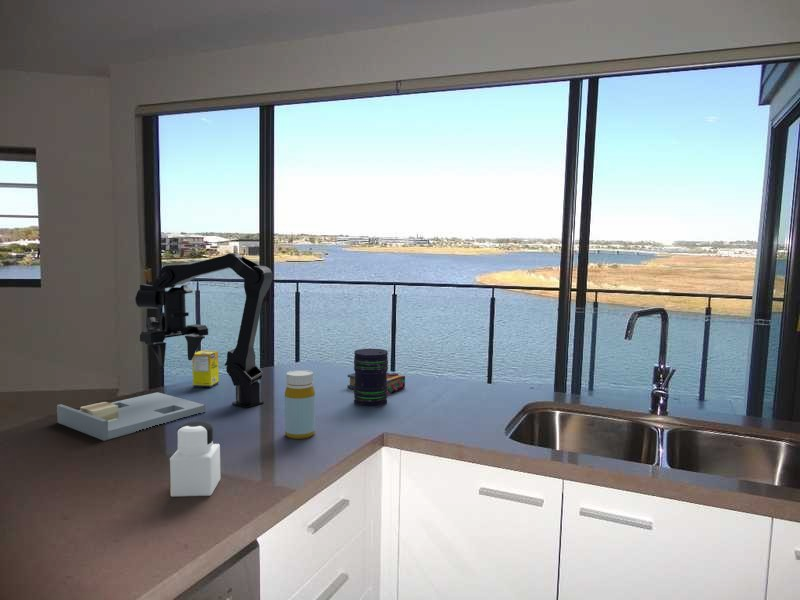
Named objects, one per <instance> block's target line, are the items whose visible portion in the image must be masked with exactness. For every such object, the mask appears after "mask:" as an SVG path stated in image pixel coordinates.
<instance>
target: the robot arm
mask: <svg viewBox="0 0 800 600" xmlns="http://www.w3.org/2000/svg"><path fill="white" fill-rule="evenodd" d="M228 269H231V270H232V271H233V272H234V273H235V274H236V275H237V276H239V277H240V278H242V279H243V288H244V289H243V290H244V294H245V301H244V306H243V311H242V316H241V322H240V326H239V332H238V336H237V337H238V338H237V342H236V346H235V348H233V349H230V350H228V351H227V353H226V362H225V364H224V366H225V367H226V368H225V369H226V373H227V374H228V376H229V377H230V380H231V381H232V384H233V386H235V401H232V402H231V404H232V405H233V406H237V407H242V408H251V407H255V406H257V405H261V404H264V403H265V401H264V400H261V394H260V393H261V390H260V387H261V386H260V382H259V381H261V380H262V378H263V375H264V372H263V371H262V370H261V369H260V368H259V367H258V366H257V365H256V353H255V352H256V351H255V348H254V347H255V346H254V345H255V341H256V334H257V331H258V324H259V320H260V315H261V310H262V305H263V301H264V298H265V296H266V295H267V292H268V291H269V290H270V287H271V284H272V282H273V279H274V274H273V272H272V270H271V268H270V267H268V266H265V265H259V264H258V263H257V262H254V261H252V260H250V259H249V258H246V257H245V256H243V255H241V254H240V253H239V252H238V253H237V252H229V253H227V254H224V255H221V256H216V257H213V258H209V259H205V260H201V261H196V262H192V263H189V264H187V263H186V264H171V265H170V264H168V265H164V266H162V267H161V268H160V271H159V274H158V277H157V278H156V279H155V281H154V282H153V283H152V284H151V285H150V284H145V283H144V284H140V285H139V289H138V290H137V293H136V295H135V297H134V298H135V299H134V300H135V304H136V306H137V307H138V308H140V309H163V312H160V318H156V317H154V316H152V317H147V318H146V319H145V326H146V329H147V330H144V331H141V333H140V334H139V342H142V343H144V344H145V345H148V346H149V347H151V348H152V351H153V352H154V354H155V357H156V359H157V361H158V363H159V366H161V367H163V366H165V361H166V360H165V359H166V347H167V342H164V340H166V339H167V338H173V337H180V336H181V337H182V336H184V338H185V340H186V345H187V349H186V350H187V359H188V361H193V356H194V354H195V353H196V352H197V350H198V348H199V346H200V344H201V342H202V341H203V339H205V338H206V336H208V335H209V328H208V325H206V324H198V323H196V324H189V325H188V324H187V318H186V317H189V316H190V315H189V312H187V311H186V308H187V307H186V295H187V294H192V293H194V292H193V290H192V289H191V288H190V287H188V285H187V284H186V283H188V282H190V281H193V280H194V279H196V278H198V277H200V276H204V275H207V274H208V275H209V274H211V273H217V272H220V271H224V270H228ZM180 285H181V286H180ZM176 286H177V287H176ZM178 286H180V287H178ZM166 289H168V290H166ZM162 307H163V308H162Z"/></svg>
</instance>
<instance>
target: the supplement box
mask: <svg viewBox="0 0 800 600" xmlns="http://www.w3.org/2000/svg"><path fill="white" fill-rule="evenodd" d="M219 373H220V372H219V351H218V350H198V351H196V352H195V354H194V356H193V358H192V383H193V385H192V386H193V388H202V387H207V388H208V387H209V388H208V389H211V387H212V388H213V387H215V386H217V385H219V384H218V383H220V382H219V381H220V380H219V378H220V377H219V376H220V375H219ZM216 384H217V385H216ZM214 385H215V386H214ZM207 388H206V389H207Z"/></svg>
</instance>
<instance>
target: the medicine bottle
mask: <svg viewBox="0 0 800 600" xmlns="http://www.w3.org/2000/svg"><path fill="white" fill-rule="evenodd" d="M213 427H214V426H213V425H212V424H211V423H210V422H209V423H208V422H206V421H198V420H197V421H190V422H186V423H184V424H182V425H180V426H179V427H178V428H177V430H176V432H177V434H176V437H177V440H176V441H177V450H176V451H175V452H174V453H173V454H172V455H171V457H170V458H169V487H170V489H169V490H170V491H169V492H170V496H171V497H172V498H173V497H174V498H175V497H208V496H209V497H210V496H211V495H213V493H214V491H215V489H216V487H217V486H218V484H219V483H220V480H221V446H220V444H219V443H214V435H213V434H214V433H213Z"/></svg>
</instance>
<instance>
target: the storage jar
mask: <svg viewBox="0 0 800 600" xmlns="http://www.w3.org/2000/svg"><path fill="white" fill-rule="evenodd" d="M388 352H389V351H388V350H386V349H381V348H360V349H357V350H356V349H355V350H354V356H353V359H354V360H353V365H354V366H353V371H354V373H355V384H354V389H353V398H354V401H353V403H354V405H356V406H359V407H362V408H377V407H378V408H379V407H383V406H385V405H387V404H388V395H387V394H388V390H387V389H388V384H387V373H388V369H389V366H388V365H389V359H388V358H389V357H388V355H389V353H388Z"/></svg>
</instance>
